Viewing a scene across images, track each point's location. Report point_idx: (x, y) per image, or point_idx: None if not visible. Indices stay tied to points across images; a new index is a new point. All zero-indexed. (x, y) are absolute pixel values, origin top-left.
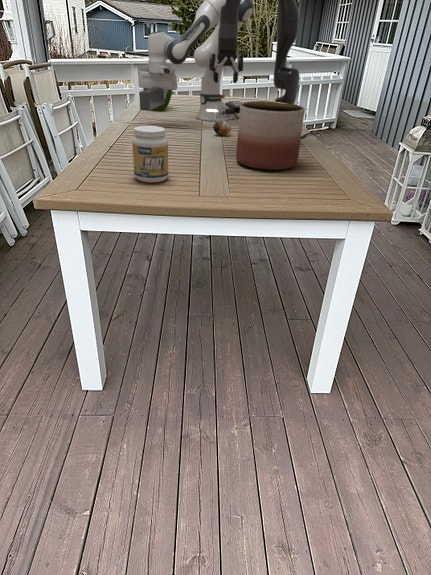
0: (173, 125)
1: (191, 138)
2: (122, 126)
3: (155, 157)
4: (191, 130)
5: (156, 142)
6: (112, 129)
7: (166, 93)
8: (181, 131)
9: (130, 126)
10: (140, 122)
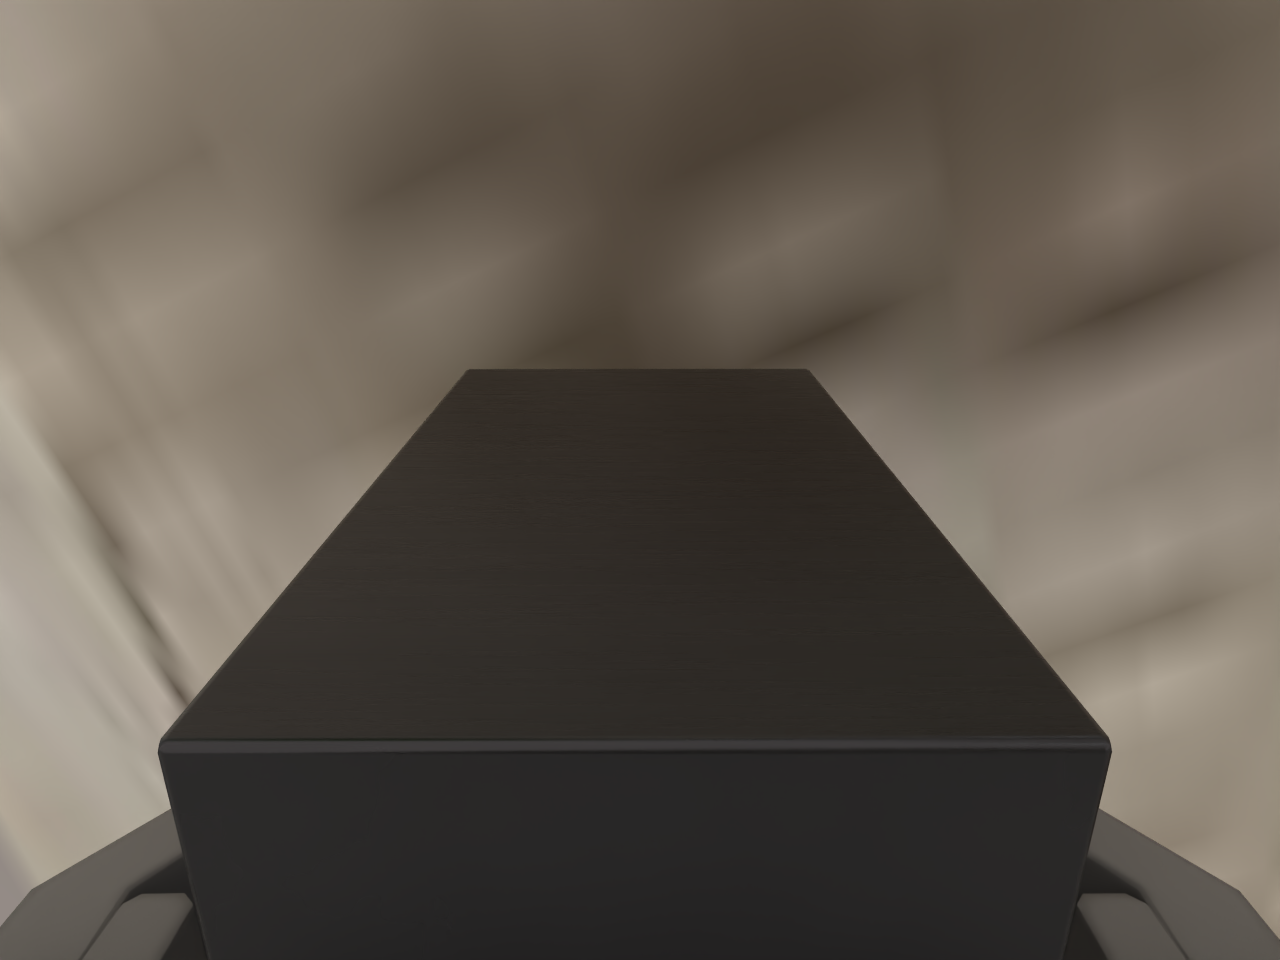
0: (861, 53)
1: (1262, 900)
2: (13, 564)
3: None
4: (1272, 403)
5: None
6: (29, 807)
7: (1106, 834)
8: (1090, 550)
9: (128, 512)
10: (65, 32)
